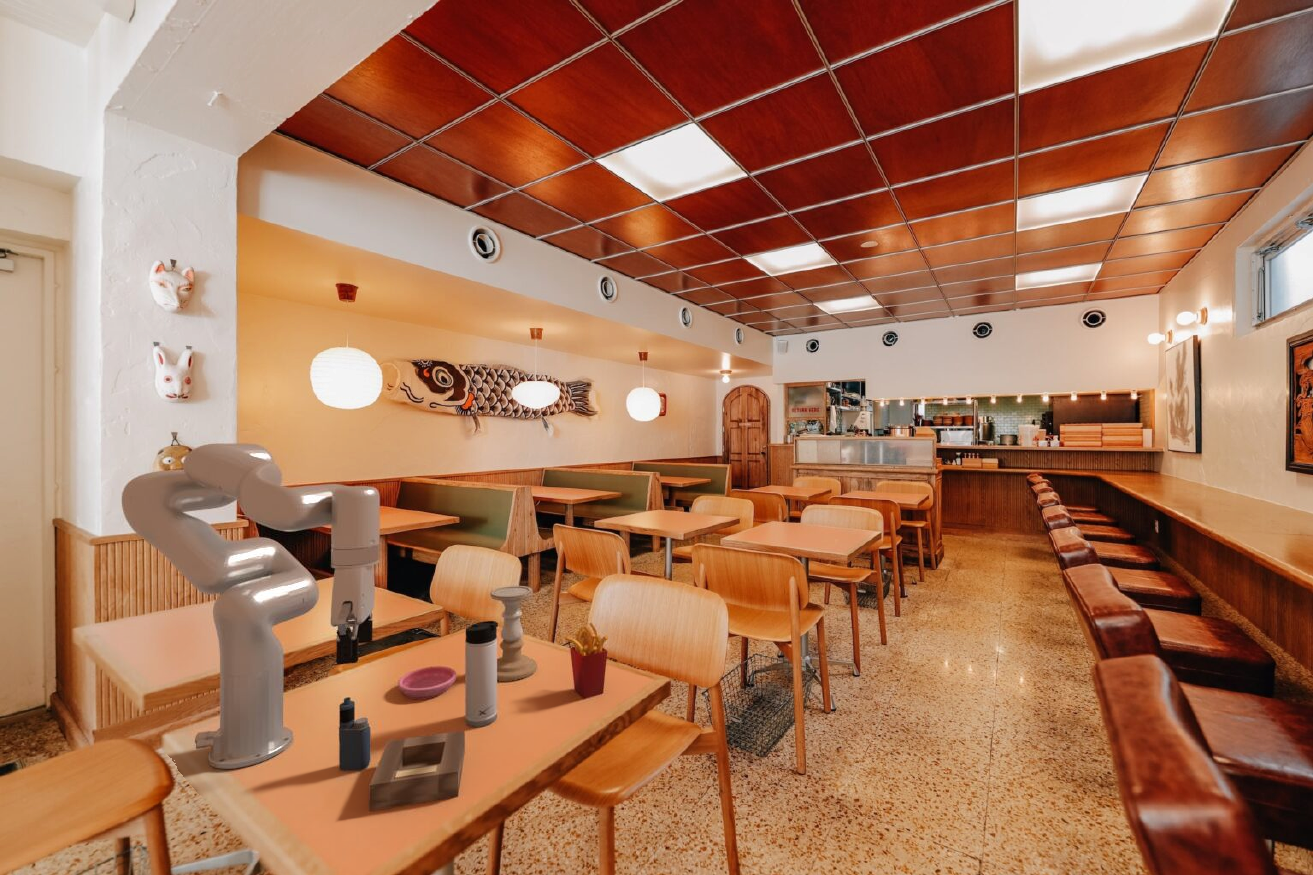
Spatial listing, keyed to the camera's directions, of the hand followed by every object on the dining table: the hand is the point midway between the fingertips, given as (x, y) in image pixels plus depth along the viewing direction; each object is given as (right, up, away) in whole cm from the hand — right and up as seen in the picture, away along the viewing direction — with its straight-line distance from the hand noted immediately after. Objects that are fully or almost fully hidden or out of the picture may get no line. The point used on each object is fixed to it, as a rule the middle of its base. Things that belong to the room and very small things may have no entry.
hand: (355, 652), depth 96 cm
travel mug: (+17, -21, +16) cm, 31 cm away
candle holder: (+17, -21, +40) cm, 48 cm away
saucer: (0, -21, +30) cm, 36 cm away
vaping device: (0, -20, 0) cm, 20 cm away
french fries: (+37, -21, +28) cm, 51 cm away
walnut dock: (+13, -20, -4) cm, 24 cm away
